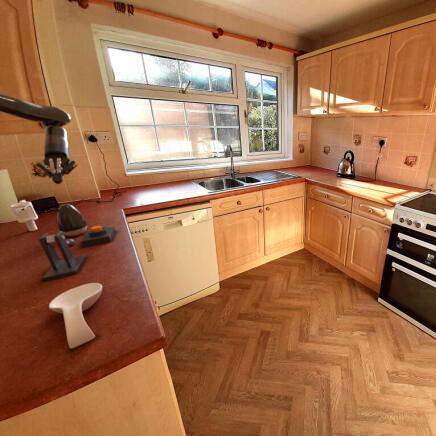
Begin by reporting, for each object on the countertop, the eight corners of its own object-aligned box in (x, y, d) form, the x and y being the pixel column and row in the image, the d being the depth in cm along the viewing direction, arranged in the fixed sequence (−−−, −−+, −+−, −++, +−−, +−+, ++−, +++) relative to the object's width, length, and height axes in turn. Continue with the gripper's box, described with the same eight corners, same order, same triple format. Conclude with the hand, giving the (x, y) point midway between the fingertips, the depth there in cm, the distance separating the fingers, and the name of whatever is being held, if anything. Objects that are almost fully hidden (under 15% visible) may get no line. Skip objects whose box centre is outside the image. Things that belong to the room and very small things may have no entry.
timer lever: (66, 249, 96) (65, 240, 96) (77, 246, 97) (76, 238, 97) (44, 244, 82) (43, 235, 82) (57, 242, 83) (56, 232, 84)
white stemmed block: (45, 225, 128) (32, 198, 122) (39, 230, 122) (25, 202, 116) (27, 228, 125) (13, 201, 119) (20, 234, 119) (5, 205, 113)
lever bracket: (56, 263, 92) (40, 231, 87) (85, 257, 95) (72, 225, 90) (43, 281, 82) (24, 245, 77) (76, 273, 85) (61, 238, 80)
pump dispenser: (62, 234, 117) (48, 204, 111) (88, 227, 123) (77, 199, 118) (62, 241, 110) (48, 209, 104) (91, 233, 116) (79, 203, 111)
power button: (93, 230, 110) (92, 226, 109) (103, 228, 112) (101, 224, 111) (91, 233, 107) (90, 229, 106) (101, 231, 109) (100, 227, 108)
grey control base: (90, 236, 114) (86, 227, 112) (115, 231, 118) (112, 223, 116) (83, 247, 104) (79, 237, 102) (111, 241, 108) (107, 232, 106)
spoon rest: (55, 305, 71) (44, 284, 68) (103, 287, 78) (96, 268, 75) (52, 359, 54) (38, 336, 51) (114, 330, 61) (105, 308, 58)
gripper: (30, 143, 97) (29, 179, 91) (72, 141, 102) (74, 175, 96) (41, 155, 103) (41, 190, 98) (80, 152, 108) (82, 185, 103)
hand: (57, 182), depth 97 cm, fingers closed
